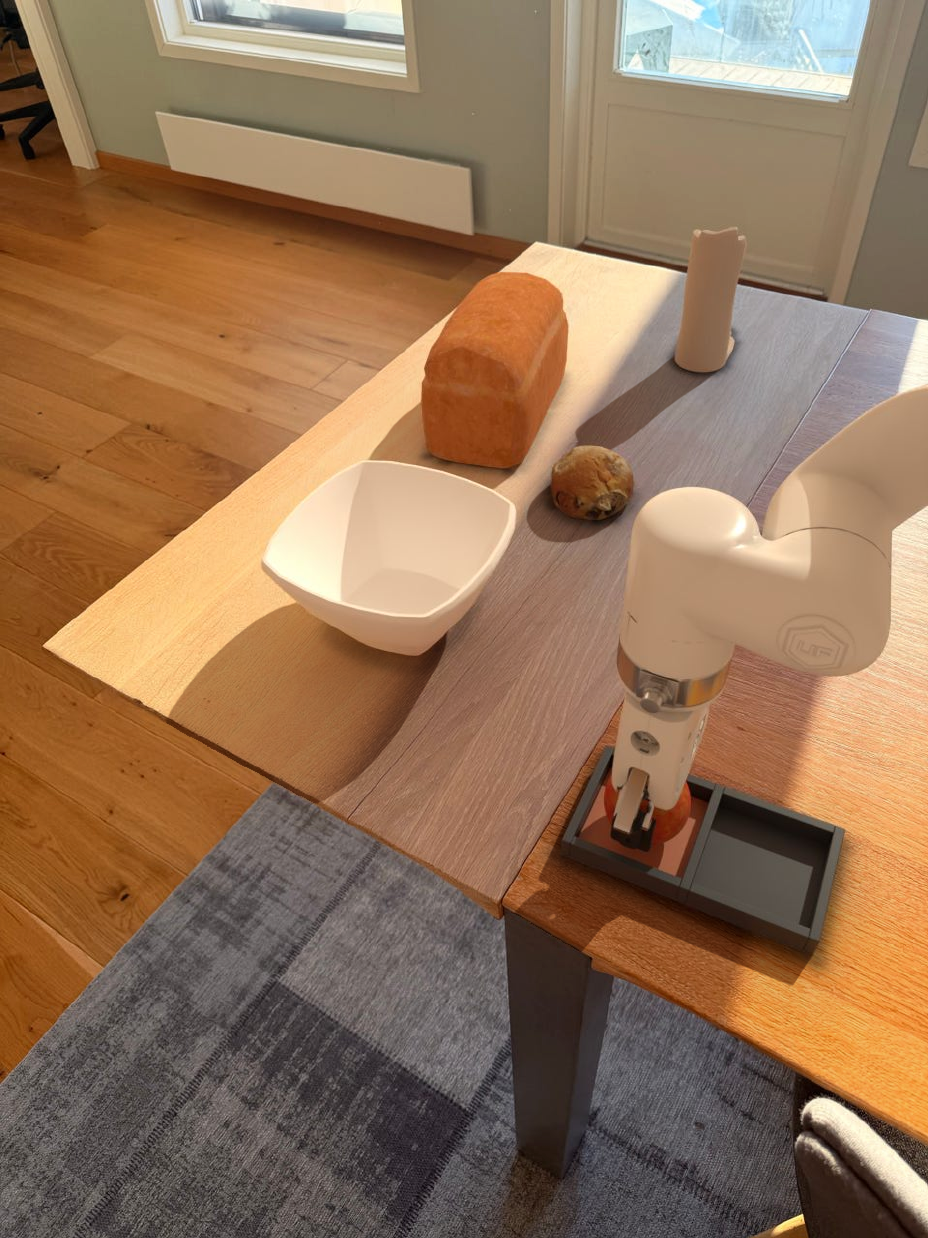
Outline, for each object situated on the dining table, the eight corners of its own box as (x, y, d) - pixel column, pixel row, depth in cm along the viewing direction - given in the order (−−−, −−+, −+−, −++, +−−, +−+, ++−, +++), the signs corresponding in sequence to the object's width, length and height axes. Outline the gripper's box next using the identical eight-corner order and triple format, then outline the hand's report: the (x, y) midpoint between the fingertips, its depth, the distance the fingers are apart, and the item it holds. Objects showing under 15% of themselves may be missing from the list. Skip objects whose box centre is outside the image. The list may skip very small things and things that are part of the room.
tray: (838, 843, 75) (845, 828, 73) (812, 956, 68) (819, 942, 67) (604, 760, 82) (606, 744, 80) (560, 854, 75) (561, 840, 73)
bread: (571, 370, 130) (576, 261, 119) (522, 475, 113) (523, 359, 102) (479, 358, 134) (476, 252, 122) (418, 458, 116) (408, 345, 105)
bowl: (368, 527, 107) (355, 444, 98) (540, 581, 99) (542, 496, 91) (254, 652, 93) (229, 567, 85) (443, 726, 85) (435, 641, 77)
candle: (742, 332, 136) (769, 194, 122) (717, 376, 127) (743, 233, 113) (695, 323, 138) (716, 187, 124) (668, 366, 130) (686, 225, 116)
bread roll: (632, 510, 113) (642, 445, 110) (624, 528, 103) (634, 459, 100) (554, 499, 115) (561, 435, 112) (539, 516, 105) (547, 448, 103)
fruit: (695, 855, 74) (710, 799, 68) (612, 867, 74) (620, 812, 68) (670, 784, 79) (682, 727, 73) (592, 795, 78) (598, 739, 73)
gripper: (690, 772, 55) (657, 911, 67) (759, 591, 66) (720, 741, 78) (574, 731, 57) (563, 873, 70) (659, 564, 68) (636, 713, 81)
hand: (646, 802), depth 74 cm, fingers open, 7 cm apart
